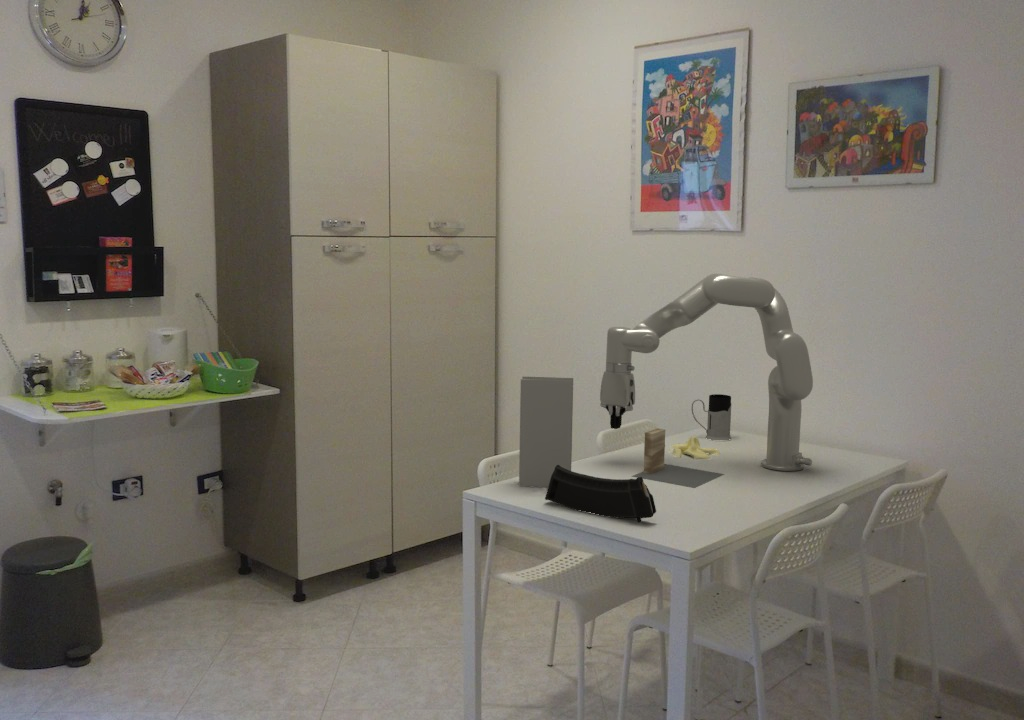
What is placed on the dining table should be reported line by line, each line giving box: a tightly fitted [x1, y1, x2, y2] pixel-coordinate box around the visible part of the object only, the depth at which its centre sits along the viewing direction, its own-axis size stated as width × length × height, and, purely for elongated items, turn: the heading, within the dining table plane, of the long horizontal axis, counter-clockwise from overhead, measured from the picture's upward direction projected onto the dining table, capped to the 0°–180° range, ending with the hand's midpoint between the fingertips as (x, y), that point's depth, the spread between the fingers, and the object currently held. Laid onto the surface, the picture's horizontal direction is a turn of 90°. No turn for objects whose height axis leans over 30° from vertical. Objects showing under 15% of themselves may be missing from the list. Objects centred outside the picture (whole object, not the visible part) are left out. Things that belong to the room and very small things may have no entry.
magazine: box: [544, 465, 657, 523], centre depth 235 cm, size 17×3×30 cm
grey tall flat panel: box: [518, 376, 574, 488], centre depth 260 cm, size 14×6×30 cm, turn 84°
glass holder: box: [691, 393, 732, 441], centre depth 326 cm, size 9×14×15 cm, turn 92°
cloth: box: [667, 435, 721, 460], centre depth 303 cm, size 22×19×6 cm
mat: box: [631, 463, 725, 489], centre depth 273 cm, size 20×20×1 cm
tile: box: [643, 428, 666, 474], centre depth 277 cm, size 3×8×12 cm, turn 143°
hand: (615, 428), depth 283 cm, fingers closed
